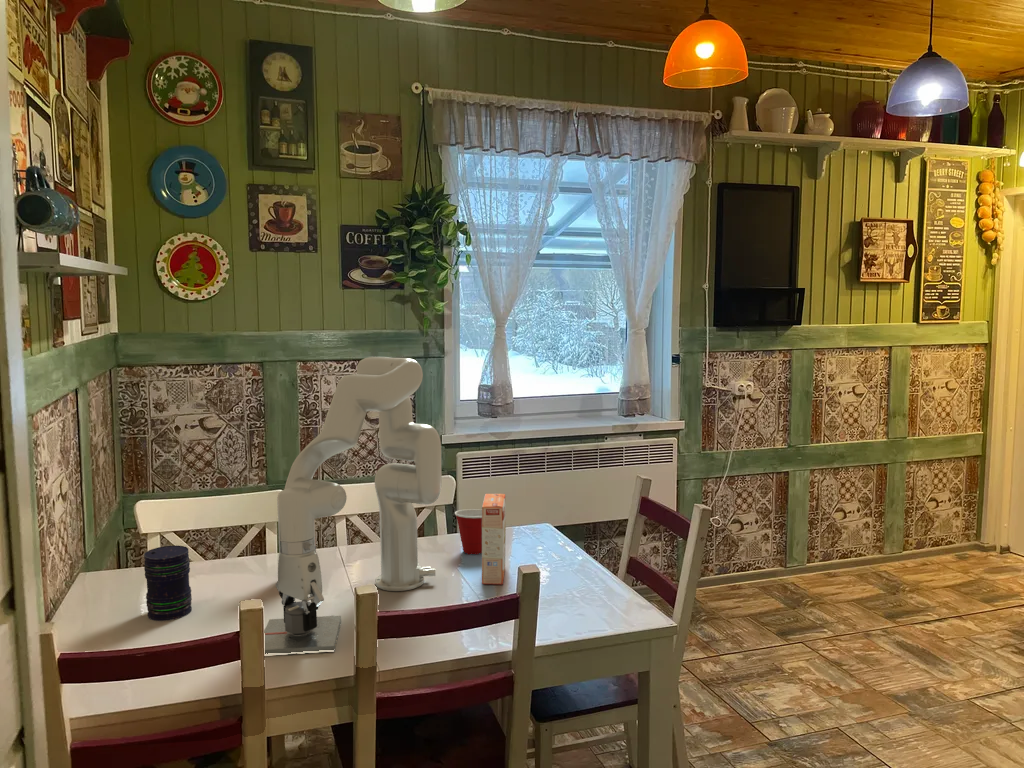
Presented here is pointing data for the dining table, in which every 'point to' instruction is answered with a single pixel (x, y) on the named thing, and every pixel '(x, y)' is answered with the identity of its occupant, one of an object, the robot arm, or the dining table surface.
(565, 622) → the dining table surface
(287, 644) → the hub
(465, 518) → the plastic cup
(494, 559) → the cracker box
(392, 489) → the robot arm
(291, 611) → the knob
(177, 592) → the storage jar
